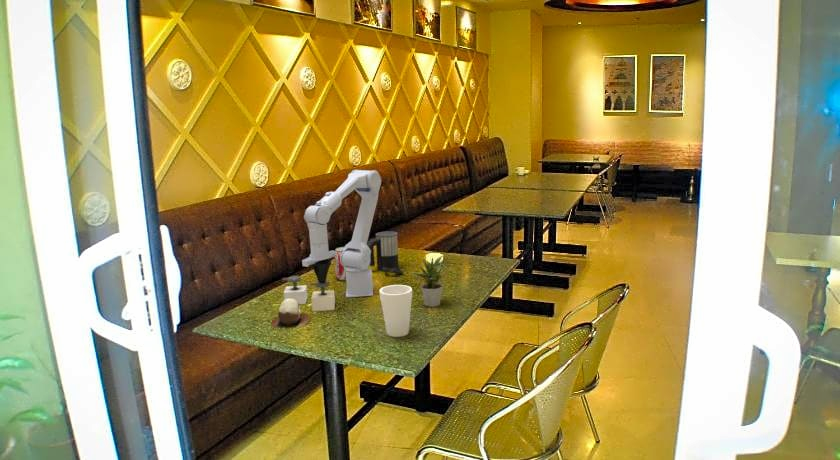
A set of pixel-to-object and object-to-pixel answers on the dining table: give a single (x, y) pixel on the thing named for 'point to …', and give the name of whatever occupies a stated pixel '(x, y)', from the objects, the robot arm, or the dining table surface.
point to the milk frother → (385, 252)
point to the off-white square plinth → (323, 301)
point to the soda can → (339, 265)
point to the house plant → (431, 282)
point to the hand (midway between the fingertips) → (322, 282)
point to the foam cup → (396, 308)
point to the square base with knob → (296, 294)
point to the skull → (290, 315)
